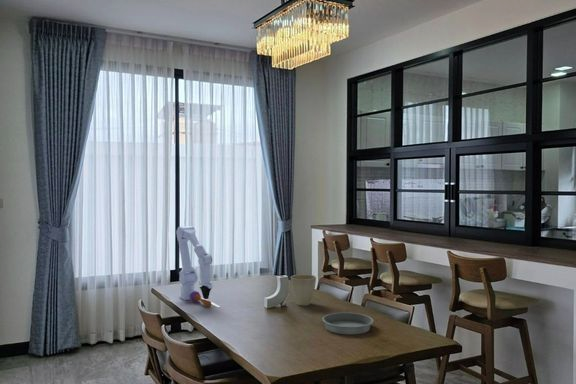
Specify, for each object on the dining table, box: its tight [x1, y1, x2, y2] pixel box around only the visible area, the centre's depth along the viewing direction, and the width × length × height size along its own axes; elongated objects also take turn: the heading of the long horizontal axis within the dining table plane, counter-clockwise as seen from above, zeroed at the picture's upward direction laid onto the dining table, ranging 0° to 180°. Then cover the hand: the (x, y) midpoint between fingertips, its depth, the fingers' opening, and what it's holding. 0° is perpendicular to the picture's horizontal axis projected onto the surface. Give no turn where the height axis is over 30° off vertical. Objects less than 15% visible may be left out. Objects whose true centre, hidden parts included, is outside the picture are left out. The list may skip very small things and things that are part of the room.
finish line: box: [201, 297, 221, 308], centre depth 286 cm, size 26×2×1 cm, turn 32°
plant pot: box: [290, 274, 317, 307], centre depth 281 cm, size 15×15×16 cm
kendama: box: [190, 290, 212, 308], centre depth 282 cm, size 6×6×20 cm
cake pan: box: [321, 311, 374, 335], centre depth 235 cm, size 25×25×4 cm
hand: (205, 298), depth 284 cm, fingers closed, pressing on kendama
